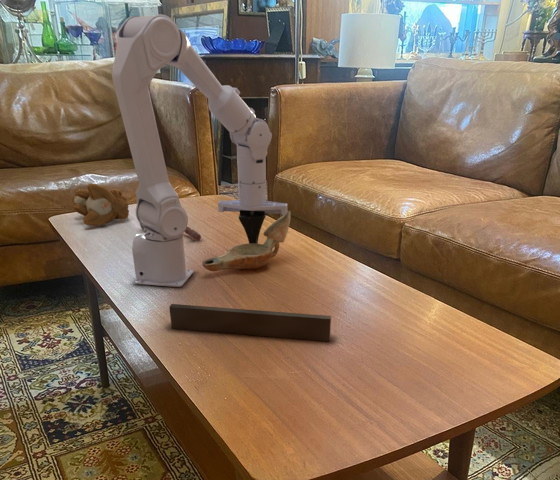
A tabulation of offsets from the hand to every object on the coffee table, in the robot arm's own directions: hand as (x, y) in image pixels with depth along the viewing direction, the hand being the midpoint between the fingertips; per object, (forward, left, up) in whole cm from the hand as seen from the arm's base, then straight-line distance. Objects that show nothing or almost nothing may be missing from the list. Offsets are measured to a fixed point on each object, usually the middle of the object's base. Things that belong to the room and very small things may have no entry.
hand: (253, 245), depth 119 cm
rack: (+7, -36, -2) cm, 37 cm away
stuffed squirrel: (-41, +17, +2) cm, 44 cm away
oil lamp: (0, -6, -3) cm, 7 cm away
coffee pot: (-24, +12, -3) cm, 27 cm away
